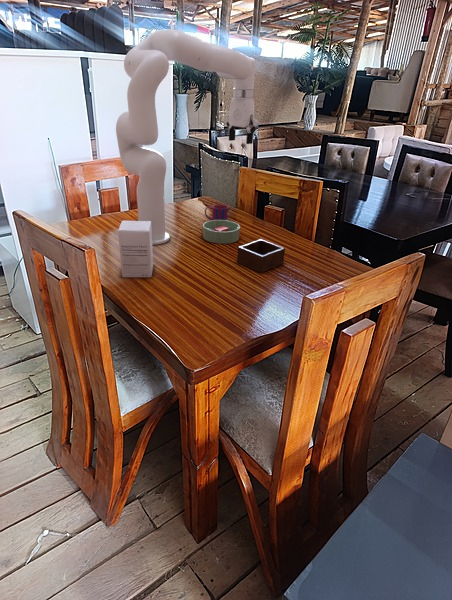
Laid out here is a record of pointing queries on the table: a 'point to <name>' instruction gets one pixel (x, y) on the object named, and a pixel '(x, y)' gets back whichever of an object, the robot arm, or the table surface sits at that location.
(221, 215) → the mug
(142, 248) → the white product box
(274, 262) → the box
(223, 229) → the red small block
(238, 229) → the bowl
